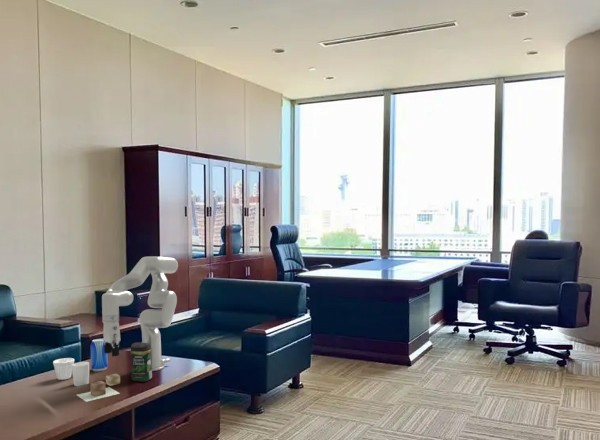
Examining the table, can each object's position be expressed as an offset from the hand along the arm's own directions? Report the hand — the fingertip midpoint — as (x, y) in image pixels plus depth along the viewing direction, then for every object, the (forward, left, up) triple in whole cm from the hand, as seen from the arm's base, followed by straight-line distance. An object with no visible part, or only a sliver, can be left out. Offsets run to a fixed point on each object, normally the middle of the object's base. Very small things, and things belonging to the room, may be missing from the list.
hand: (111, 354), depth 251 cm
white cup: (+10, -15, -16) cm, 24 cm away
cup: (+13, -32, -16) cm, 38 cm away
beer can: (-6, -35, -16) cm, 39 cm away
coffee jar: (-14, +1, -16) cm, 21 cm away
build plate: (+11, +11, -15) cm, 22 cm away
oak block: (0, 0, -15) cm, 15 cm away
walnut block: (+11, +11, -14) cm, 21 cm away
